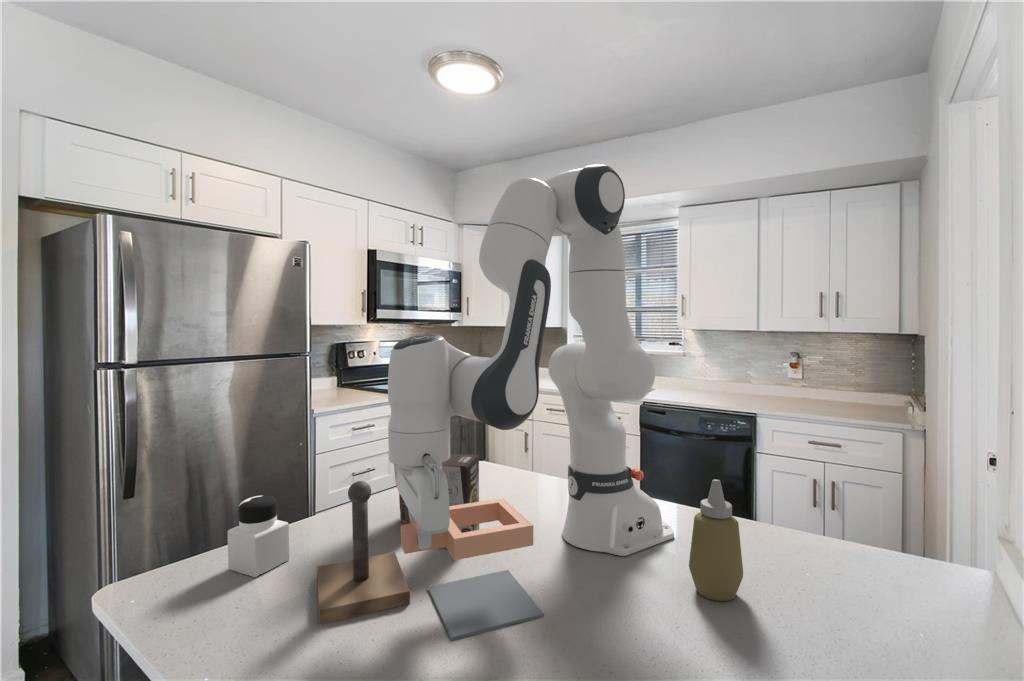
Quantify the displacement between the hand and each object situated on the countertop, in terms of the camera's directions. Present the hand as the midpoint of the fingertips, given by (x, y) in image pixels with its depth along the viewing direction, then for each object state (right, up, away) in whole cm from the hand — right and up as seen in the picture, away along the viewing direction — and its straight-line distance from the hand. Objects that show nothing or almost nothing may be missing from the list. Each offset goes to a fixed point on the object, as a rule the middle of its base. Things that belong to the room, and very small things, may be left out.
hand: (420, 540), depth 72 cm
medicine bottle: (-32, -11, +16) cm, 38 cm away
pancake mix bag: (-8, -10, +35) cm, 37 cm away
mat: (+9, -11, +4) cm, 15 cm away
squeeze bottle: (+46, -11, +6) cm, 48 cm away
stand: (-11, -11, +8) cm, 17 cm away
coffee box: (+3, -11, +26) cm, 29 cm away
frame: (+6, -1, +3) cm, 6 cm away
